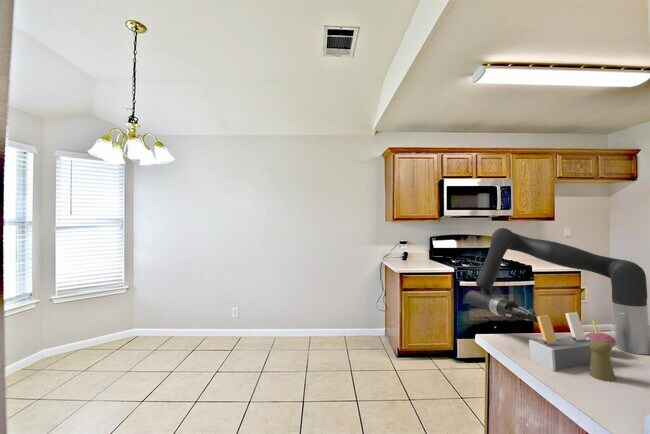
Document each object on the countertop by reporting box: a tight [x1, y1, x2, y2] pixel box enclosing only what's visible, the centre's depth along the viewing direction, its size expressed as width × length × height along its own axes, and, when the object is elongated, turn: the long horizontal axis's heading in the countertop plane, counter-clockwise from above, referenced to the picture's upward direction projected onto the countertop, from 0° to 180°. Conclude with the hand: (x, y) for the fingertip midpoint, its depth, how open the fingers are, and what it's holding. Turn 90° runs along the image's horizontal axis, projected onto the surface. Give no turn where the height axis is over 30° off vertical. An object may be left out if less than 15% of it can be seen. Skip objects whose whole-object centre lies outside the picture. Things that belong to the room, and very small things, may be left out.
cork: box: [589, 340, 616, 383], centre depth 93 cm, size 6×6×11 cm
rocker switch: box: [564, 311, 586, 340], centre depth 106 cm, size 4×1×9 cm, turn 99°
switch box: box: [528, 336, 593, 372], centre depth 104 cm, size 21×9×7 cm, turn 99°
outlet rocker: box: [537, 314, 557, 344], centre depth 104 cm, size 4×1×9 cm, turn 99°
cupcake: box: [585, 319, 617, 356], centre depth 110 cm, size 9×8×12 cm
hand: (539, 319), depth 107 cm, fingers closed
